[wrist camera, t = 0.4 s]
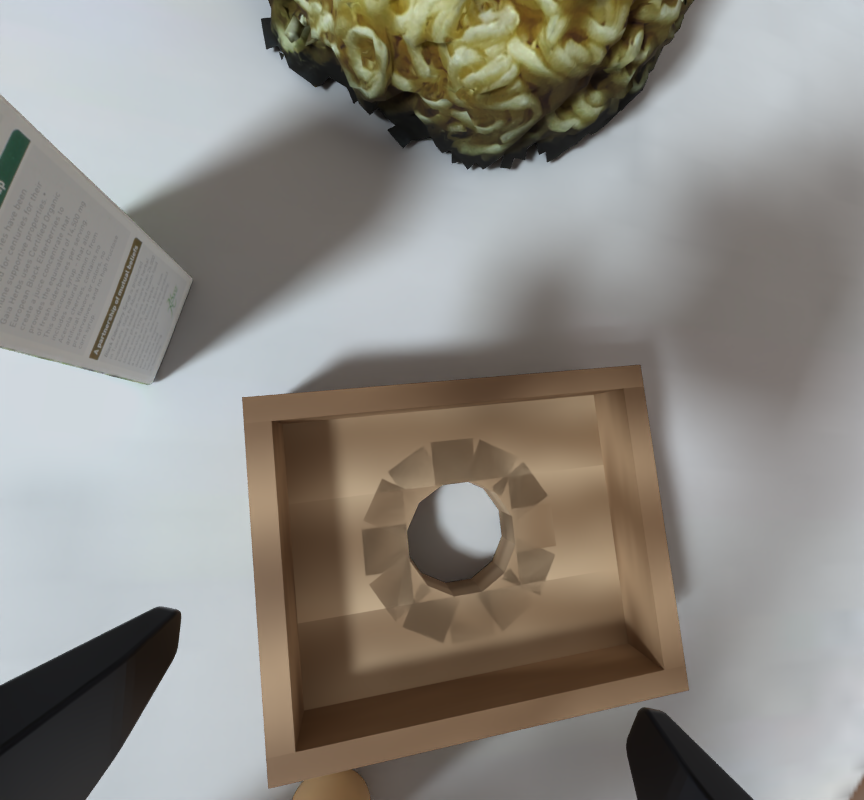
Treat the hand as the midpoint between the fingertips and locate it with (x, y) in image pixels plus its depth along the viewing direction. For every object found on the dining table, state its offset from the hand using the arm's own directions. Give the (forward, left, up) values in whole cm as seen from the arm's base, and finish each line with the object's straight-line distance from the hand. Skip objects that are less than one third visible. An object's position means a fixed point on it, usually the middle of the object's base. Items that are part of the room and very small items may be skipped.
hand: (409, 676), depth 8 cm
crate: (0, -4, -13) cm, 14 cm away
